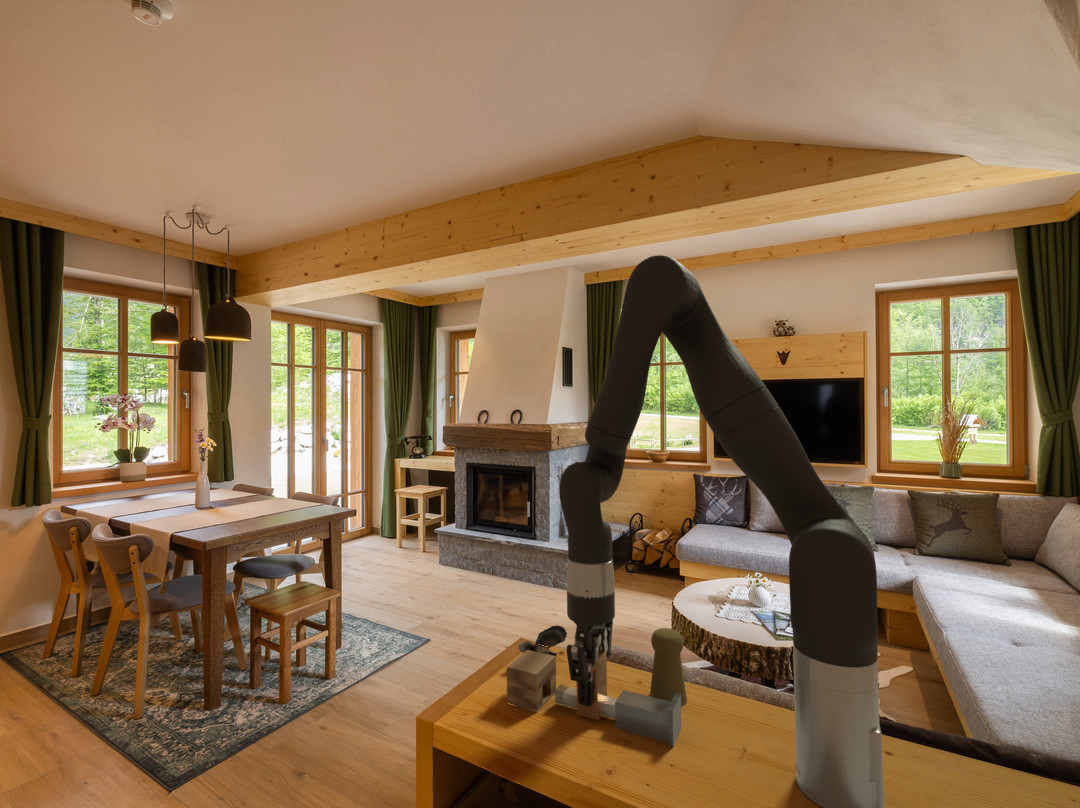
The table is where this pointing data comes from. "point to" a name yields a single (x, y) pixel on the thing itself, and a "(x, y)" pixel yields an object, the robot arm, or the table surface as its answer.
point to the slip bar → (600, 699)
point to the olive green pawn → (667, 666)
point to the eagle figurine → (545, 640)
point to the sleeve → (649, 716)
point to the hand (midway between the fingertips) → (591, 696)
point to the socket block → (531, 680)
